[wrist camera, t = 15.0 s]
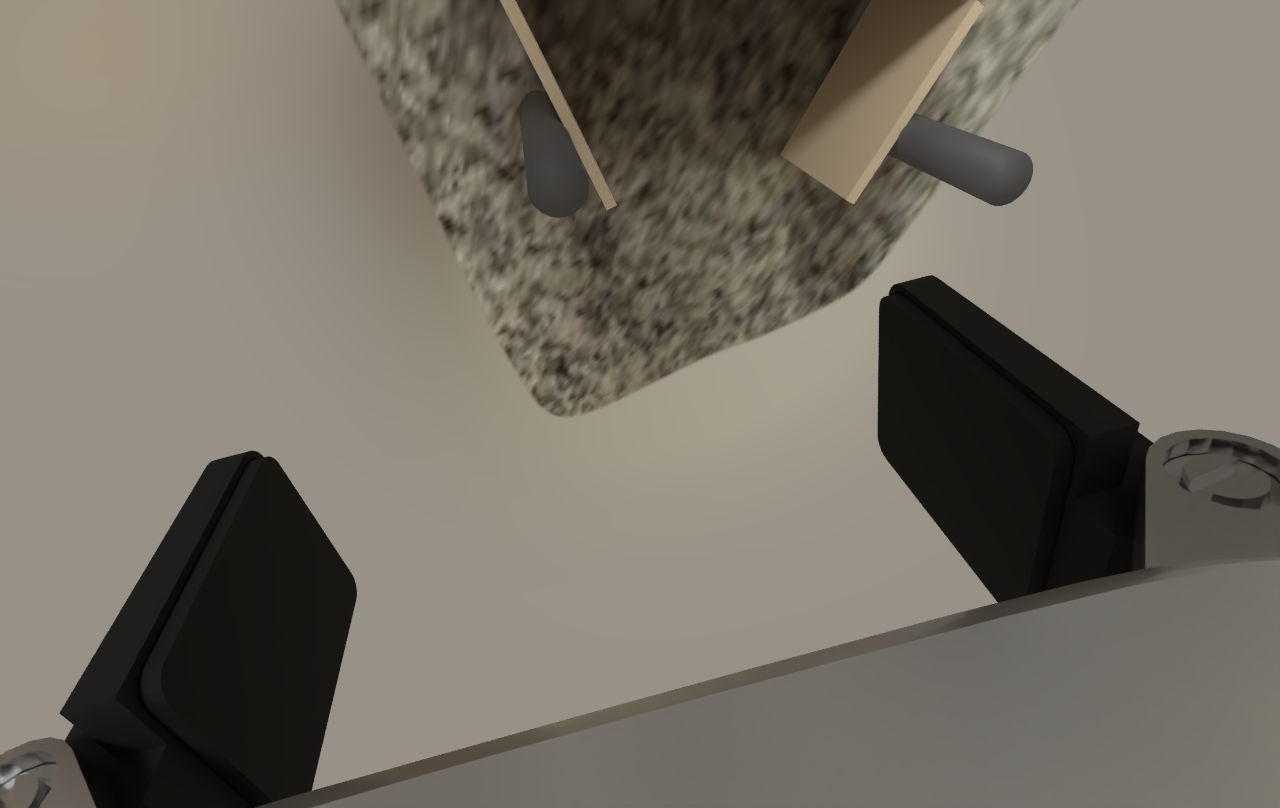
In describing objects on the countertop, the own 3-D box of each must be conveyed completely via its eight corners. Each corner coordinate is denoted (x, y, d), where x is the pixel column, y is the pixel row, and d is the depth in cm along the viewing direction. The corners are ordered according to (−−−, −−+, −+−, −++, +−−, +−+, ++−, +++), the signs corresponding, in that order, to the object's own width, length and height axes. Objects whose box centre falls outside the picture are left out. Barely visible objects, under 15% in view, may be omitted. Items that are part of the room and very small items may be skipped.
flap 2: (779, 155, 38) (917, 248, 26) (875, -7, 35) (1091, 7, 22) (812, 173, 39) (961, 273, 27) (909, 17, 36) (1135, 46, 23)
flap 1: (507, -18, 32) (510, -8, 19) (594, 156, 37) (642, 258, 24) (463, 8, 32) (436, 35, 19) (555, 178, 37) (581, 289, 24)
